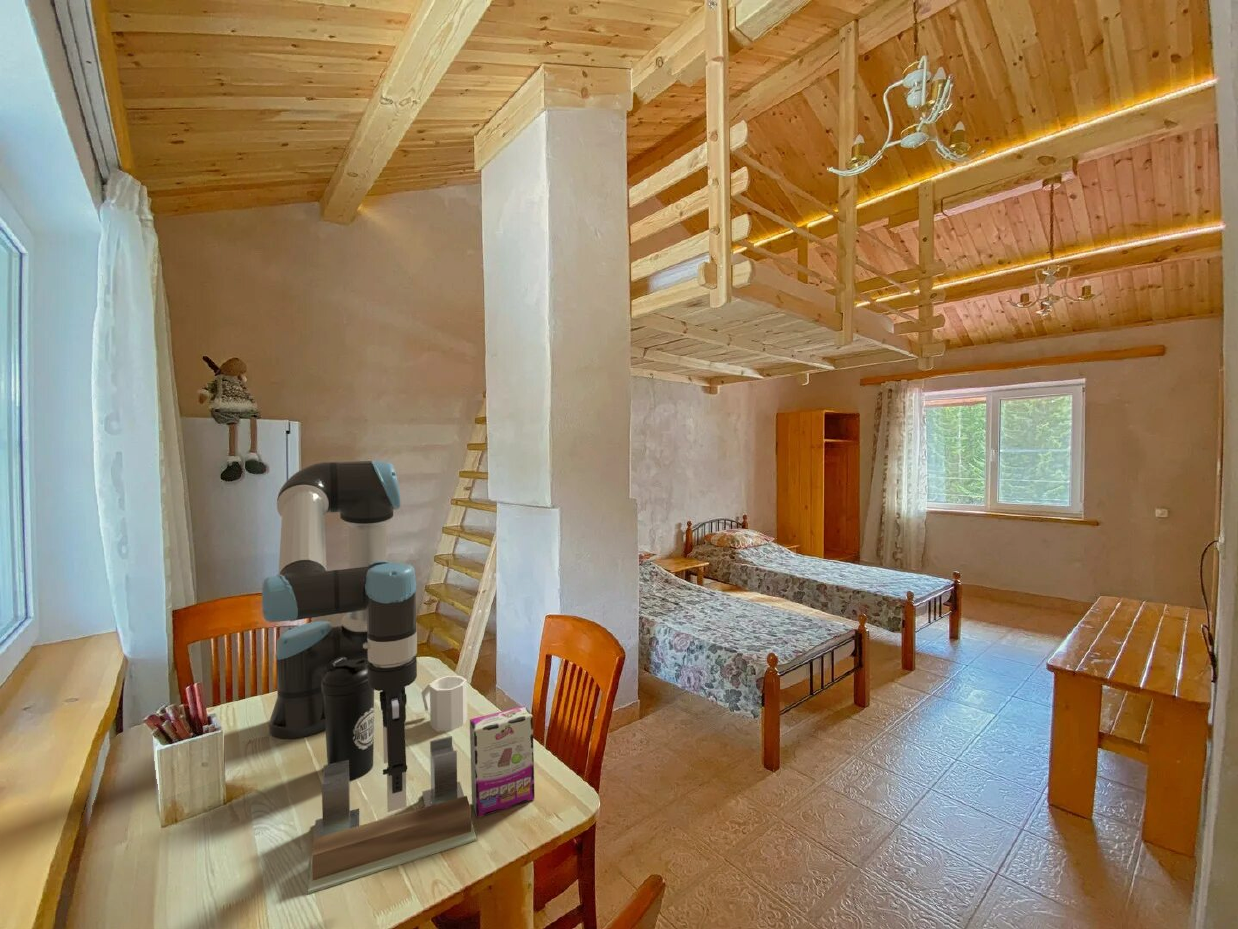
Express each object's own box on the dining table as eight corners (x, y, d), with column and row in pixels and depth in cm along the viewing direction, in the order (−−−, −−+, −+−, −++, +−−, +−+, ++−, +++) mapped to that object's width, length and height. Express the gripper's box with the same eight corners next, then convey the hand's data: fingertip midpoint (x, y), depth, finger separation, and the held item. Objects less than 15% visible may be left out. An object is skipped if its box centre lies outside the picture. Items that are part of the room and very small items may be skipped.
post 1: (315, 824, 96) (314, 766, 96) (359, 812, 99) (358, 756, 99) (312, 851, 90) (311, 789, 89) (359, 837, 93) (358, 777, 92)
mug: (473, 717, 134) (473, 678, 133) (450, 734, 126) (450, 693, 125) (435, 708, 138) (434, 671, 138) (410, 725, 130) (410, 684, 130)
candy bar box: (527, 785, 107) (526, 704, 106) (535, 800, 103) (534, 715, 102) (469, 803, 102) (468, 717, 101) (475, 819, 97) (474, 730, 97)
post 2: (422, 795, 104) (421, 741, 104) (459, 785, 107) (459, 733, 107) (426, 818, 98) (425, 760, 97) (466, 806, 101) (465, 751, 100)
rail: (314, 862, 87) (314, 838, 87) (466, 817, 97) (466, 795, 97) (312, 880, 83) (312, 855, 83) (471, 831, 94) (470, 809, 93)
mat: (312, 857, 88) (312, 855, 88) (467, 811, 99) (467, 809, 99) (308, 893, 81) (308, 891, 81) (476, 840, 92) (476, 838, 92)
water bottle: (356, 787, 106) (353, 672, 106) (311, 781, 108) (308, 668, 108) (388, 758, 116) (386, 653, 115) (346, 752, 118) (344, 649, 118)
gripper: (366, 636, 99) (368, 748, 100) (368, 697, 76) (371, 840, 77) (410, 630, 102) (411, 739, 103) (424, 686, 79) (426, 824, 81)
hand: (394, 783), depth 90 cm, fingers open, 13 cm apart
